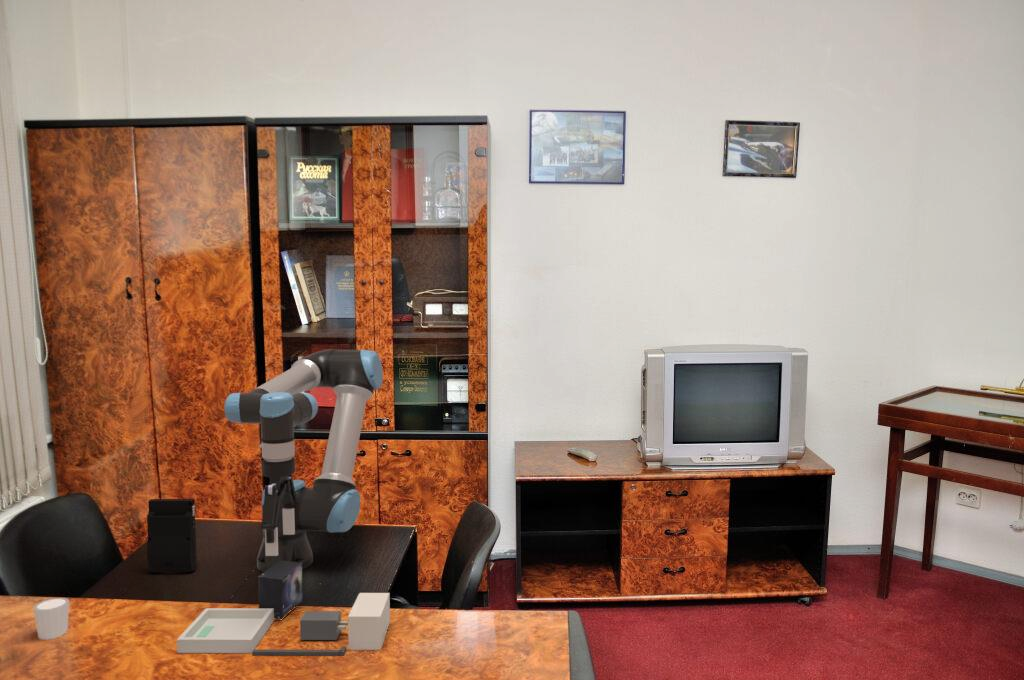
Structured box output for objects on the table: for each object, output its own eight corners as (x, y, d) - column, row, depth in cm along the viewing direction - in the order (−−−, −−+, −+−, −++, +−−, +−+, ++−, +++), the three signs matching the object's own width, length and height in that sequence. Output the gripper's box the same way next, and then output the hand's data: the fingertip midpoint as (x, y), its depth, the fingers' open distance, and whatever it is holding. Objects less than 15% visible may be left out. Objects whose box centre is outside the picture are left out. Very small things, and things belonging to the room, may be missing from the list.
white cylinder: (33, 643, 161) (31, 613, 160) (36, 630, 167) (35, 600, 166) (69, 636, 164) (68, 606, 163) (71, 624, 170) (70, 595, 169)
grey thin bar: (256, 649, 158) (256, 646, 158) (346, 649, 158) (346, 646, 158) (252, 655, 156) (252, 651, 156) (343, 655, 156) (343, 652, 156)
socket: (359, 623, 170) (358, 592, 170) (389, 624, 170) (389, 592, 170) (347, 649, 158) (347, 616, 158) (380, 649, 158) (380, 616, 158)
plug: (306, 630, 167) (305, 611, 166) (349, 630, 167) (348, 611, 166) (300, 639, 162) (300, 620, 162) (344, 640, 162) (344, 620, 162)
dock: (206, 620, 172) (205, 608, 172) (274, 620, 172) (273, 608, 172) (177, 652, 157) (176, 639, 157) (251, 653, 157) (251, 639, 157)
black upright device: (198, 568, 203) (196, 498, 201) (191, 575, 198) (189, 503, 196) (154, 569, 202) (151, 498, 201) (146, 575, 198) (143, 503, 196)
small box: (282, 621, 171) (281, 578, 171) (257, 619, 173) (256, 576, 172) (304, 602, 182) (303, 561, 181) (280, 600, 183) (279, 559, 182)
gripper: (278, 445, 186) (280, 526, 188) (244, 472, 161) (247, 565, 163) (307, 445, 186) (310, 526, 188) (278, 472, 161) (280, 564, 163)
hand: (280, 544), depth 176 cm, fingers open, 13 cm apart
